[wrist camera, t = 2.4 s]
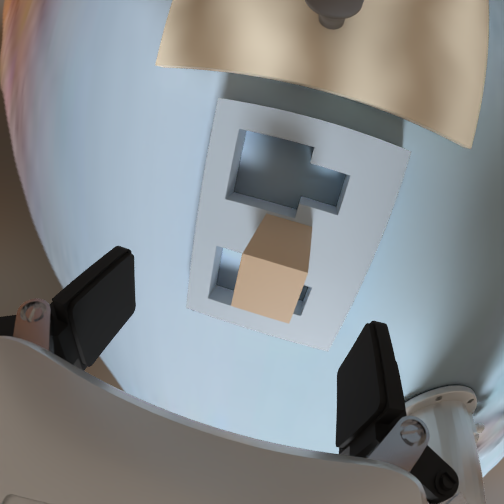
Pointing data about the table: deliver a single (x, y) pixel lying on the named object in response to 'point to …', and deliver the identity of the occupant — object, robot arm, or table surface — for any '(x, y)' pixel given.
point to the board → (347, 51)
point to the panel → (331, 222)
